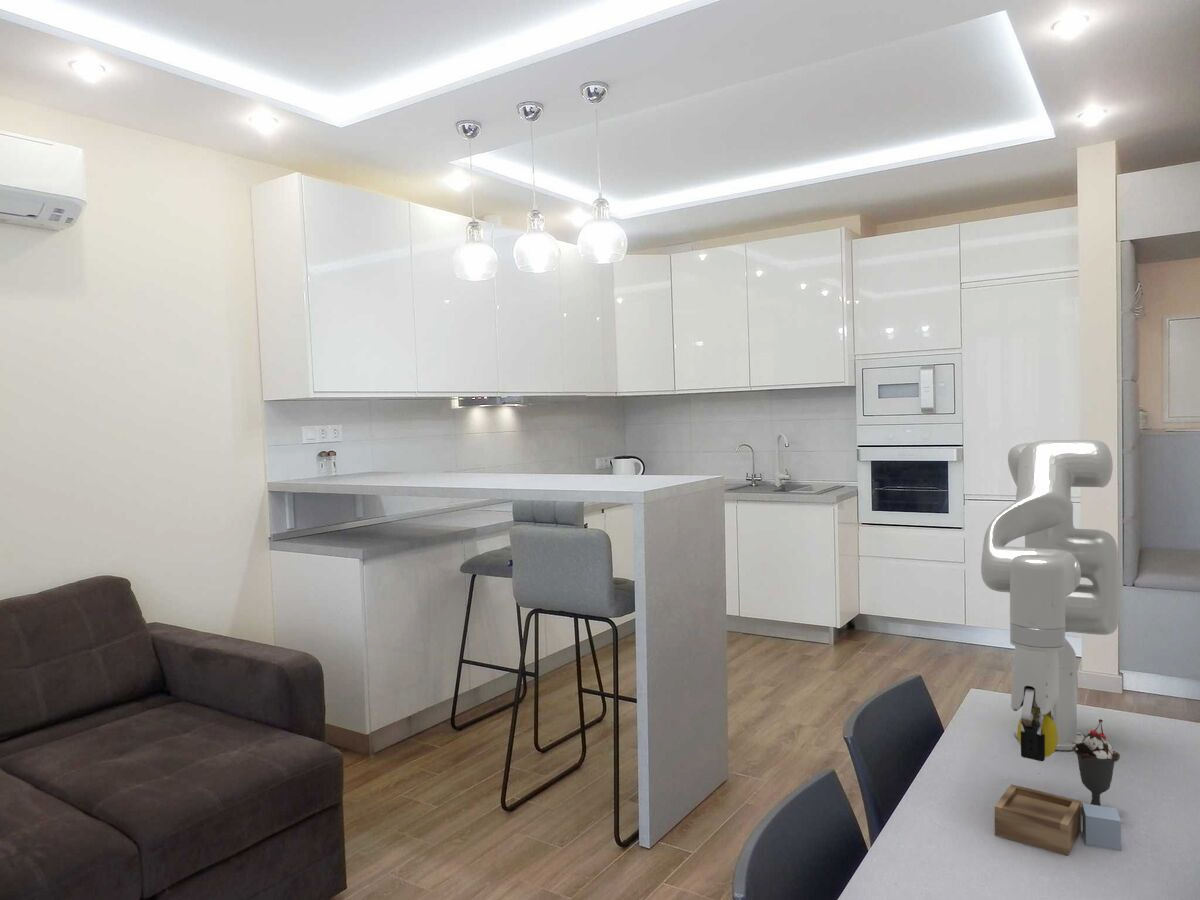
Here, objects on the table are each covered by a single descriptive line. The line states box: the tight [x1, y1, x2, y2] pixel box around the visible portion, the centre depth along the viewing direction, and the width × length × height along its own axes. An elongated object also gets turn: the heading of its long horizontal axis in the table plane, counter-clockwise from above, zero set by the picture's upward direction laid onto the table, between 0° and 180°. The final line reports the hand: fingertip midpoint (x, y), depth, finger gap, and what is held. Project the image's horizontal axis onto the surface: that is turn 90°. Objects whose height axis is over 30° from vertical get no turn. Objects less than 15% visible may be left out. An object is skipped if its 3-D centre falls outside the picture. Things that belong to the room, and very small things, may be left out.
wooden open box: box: [994, 784, 1082, 857], centre depth 128 cm, size 10×10×4 cm
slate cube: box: [1081, 802, 1122, 852], centre depth 125 cm, size 4×4×4 cm
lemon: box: [1017, 709, 1058, 762], centre depth 127 cm, size 6×6×8 cm
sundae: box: [1072, 719, 1121, 815], centre depth 133 cm, size 7×7×15 cm
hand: (1037, 751), depth 127 cm, fingers closed on lemon, 5 cm apart
